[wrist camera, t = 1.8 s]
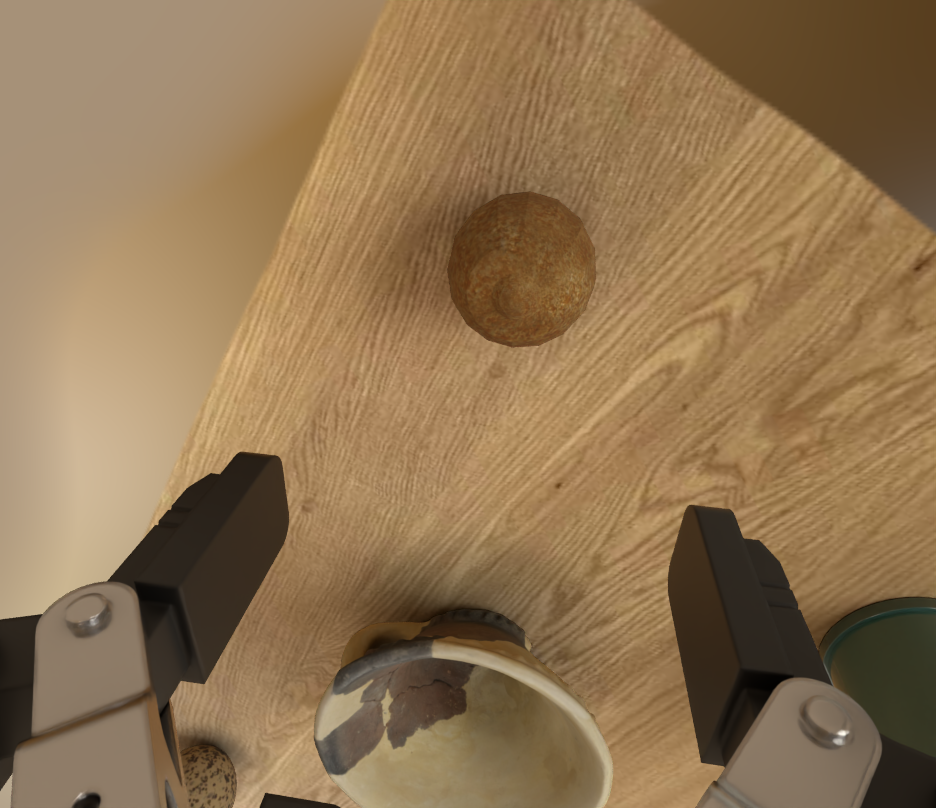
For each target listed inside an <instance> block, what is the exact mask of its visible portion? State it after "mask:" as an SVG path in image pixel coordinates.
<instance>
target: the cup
mask: <svg viewBox="0 0 936 808" xmlns="http://www.w3.org/2000/svg"><path fill="white" fill-rule="evenodd" d="M819 655H820V657H821V659H822V662H823V664H824V666H825V669H826V671H827V673H828V676H829V678H830V680H831V683H832V685H833V687H835V688H837V689H839V690H840V691H842V692H843V693H845V694H846V695H848V696H849V697H851V698H852V699H853V700H854V701H855V702H856V703H858V704H859V705H860V706H861V707H862V708H863V709H864V711H865V712H866V713H867V714H868V715H869V717H870V718H871V719H872V721H873V723H874V724H875V726H876V728H877V730H878V732H879V733H881V734H882V735H884V736H886V737H888V738H890V739H892V740H894V741H896V742H898V743H901V744H903V745H906V746H908V747H911V748H913V749H915V750H918V751H920V752H923V753H925V754H927V755H930V756H932V757H935V758H936V599H933V598H900V599H893V600H887V601H883V602H879V603H875V604H872V605H869V606H867V607H864V608H862V609H859V610H857V611H855V612H853V613H851V614H850V615H848V616H846V617H845V618H843V619H842V620H840V621H839V622H838V623H837V624H836V625H834V626H833V627H832V628H831V629H830V631H829V632H828V633H827V634H826V636H825V637H824V639H823V641H822V643H821V645H820V648H819Z"/></svg>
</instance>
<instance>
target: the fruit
mask: <svg viewBox="0 0 936 808" xmlns="http://www.w3.org/2000/svg"><path fill="white" fill-rule="evenodd" d="M447 272H448V278H449V284H450V291H451V297H452V300H453V302H454V304H455V306H456V307H457V309H458V310H459V312H460V314H461V315H462V317H463V319H464V320H465V322H466V324H467V325H468V326H470V327H471V328H472V329H474V330H475V331H476V332H478V333H479V334H480V335H482V336H483V337H484V338H485V339H487V340H489V341H492V342H496V343H499V344H502V345H506V346H509V347H526V346H539V345H541V344H543V343H545V342H547V341H549V340H552V339H554V338H556V337H558V336H560V335H562V334H563V333H564V332H565V331H566V330H567V329H568V328H569V327H570V326H571V325H572V324H573V323H574V322H575V321H576V320H577V319H578V317H579V316H580V315H581V314H582V313H583V312H584V311H585V309H586V306H587V304H588V301H589V298H590V296H591V293H592V290H593V288H594V285H595V280H596V269H595V248H594V246H593V244H592V242H591V240H590V238H589V236H588V234H587V232H586V230H585V228H584V226H583V224H582V222H581V220H580V218H579V217H578V216H576V215H575V214H574V213H573V212H572V211H570V210H569V209H568V208H567V207H566V206H564V205H563V204H562V203H561V202H560V201H559V200H557V199H553V198H550V197H547V196H543V195H540V194H536V193H533V192H522V193H514V194H506V195H500V196H499V197H497V198H495V199H494V200H492V201H490V202H488V203H487V204H485V205H483V206H482V207H480V208H478V209H476V210H475V211H474V212H473V213H472V214H471V216H470V217H469V218H468V220H467V221H466V222H465V224H464V225H463V226H462V228H461V229H460V230H459V232H458V233H457V234H456V236H455V239H454V243H453V248H452V252H451V256H450V260H449V264H448V268H447Z"/></svg>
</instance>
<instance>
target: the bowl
mask: <svg viewBox="0 0 936 808" xmlns="http://www.w3.org/2000/svg"><path fill="white" fill-rule="evenodd" d="M530 649H531V643H530V642H529V640H528V638H527V637H526V636H525V632H524V630H523V629H521V628H520V627H518V626H517V625H516V624H515V623H514V622H512V621H510V620H509V619H507V618H505V617H504V616H503V615H500V614H497V613H494V612H491V611H488V610H469V609H461V610H455V611H450V612H447V613H445V614H444V615H438V616H435V617H433V618H432V619H431V620H430V621H427V622H422V623H417V622H382V623H376V624H372V625H370V626H367V627H365V628H363V629H361V630H360V631H358V632H357V633H355V634H354V635H353V636H352V637H351V638H350V640H349V642H348V643H347V645H346V647H345V649H344V652H343V655H342V660H341V669H340V670H339V671H338V673H337V675H336V676H335V677H334V679H333V680H332V681H331V683H330V684H329V686H328V687H327V689H326V690H325V692H324V694H323V696H322V698H321V700H320V702H319V705H318V708H317V711H316V715H315V723H314V741H315V745H316V748H317V750H318V753H319V756H320V758H321V761H322V763H323V765H324V767H325V769H326V771H327V773H328V775H329V776H330V778H331V779H332V781H333V782H334V783H335V784H336V785H337V786H338V787H340V788H341V789H342V790H343V792H344V793H345V794H347V795H348V796H349V797H350V798H351V799H352V800H353V801H354V802H355V803H357V804H358V805H359V806H361V807H362V808H603V807H604V805H605V804H606V802H607V800H608V798H609V795H610V792H611V786H612V778H613V761H612V757H611V754H610V751H609V749H608V746H607V744H606V742H605V740H604V738H603V736H602V733H601V732H600V729H599V726H598V724H597V722H596V720H595V716H594V715H593V714H591V713H589V711H588V709H587V705H586V702H585V700H584V698H583V697H581V696H579V695H577V694H576V693H575V692H574V690H573V689H572V687H571V686H570V685H568V684H566V683H565V682H564V681H563V680H562V679H560V678H559V677H558V676H557V675H556V674H555V673H554V672H553V671H551V670H550V669H549V668H548V667H547V666H546V665H544V664H543V663H542V662H541V661H539V660H538V659H537V658H535V657H534V656H533V655H532V653H531V652H530Z"/></svg>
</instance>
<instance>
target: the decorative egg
mask: <svg viewBox="0 0 936 808" xmlns="http://www.w3.org/2000/svg"><path fill="white" fill-rule="evenodd" d="M180 753H181V759H182V765H183V771H184V777H185V783H186V789H187V795H188V800H189V805H190V808H232V807H233V804H234V801H235V796H236V787H237V780H236V773H235V769H234V766H233V764H232V762H231V760H230V758H229V757H228V756H227V754H226V753H225V752H223V751H222V750H220V749H219V748H217V747H214V746H210V745H197V746H193V747H190V748H187V749H184V750H182V751H181V752H180Z"/></svg>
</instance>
